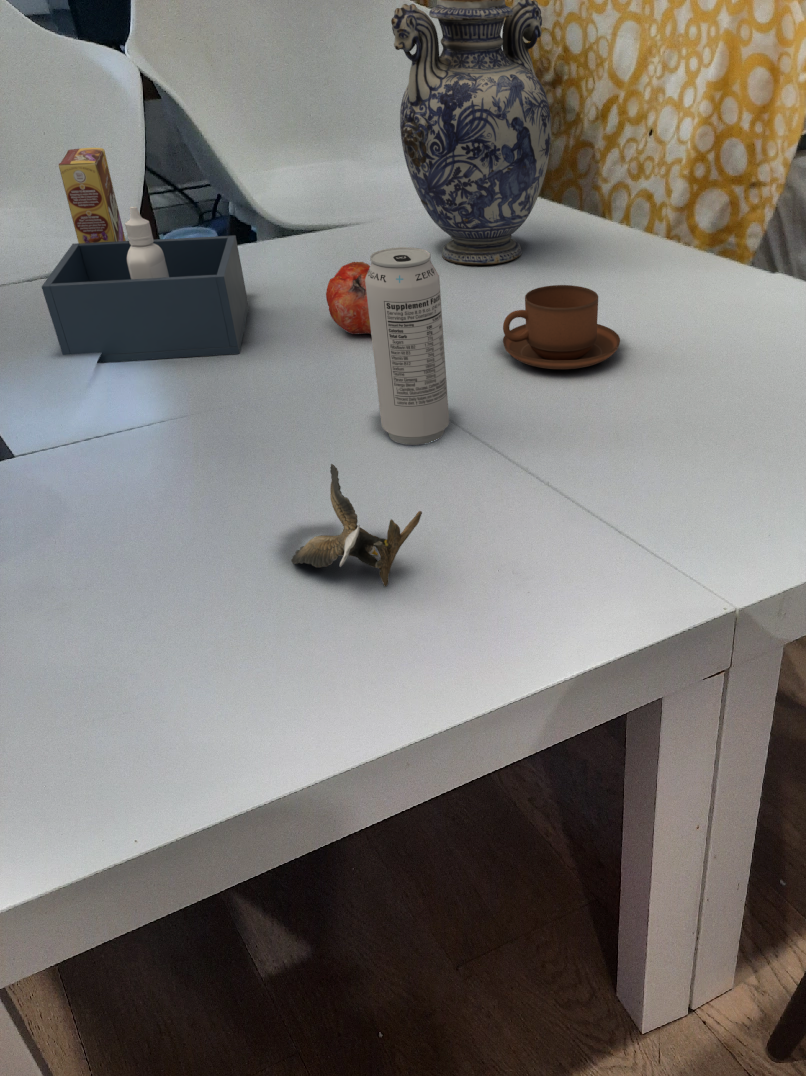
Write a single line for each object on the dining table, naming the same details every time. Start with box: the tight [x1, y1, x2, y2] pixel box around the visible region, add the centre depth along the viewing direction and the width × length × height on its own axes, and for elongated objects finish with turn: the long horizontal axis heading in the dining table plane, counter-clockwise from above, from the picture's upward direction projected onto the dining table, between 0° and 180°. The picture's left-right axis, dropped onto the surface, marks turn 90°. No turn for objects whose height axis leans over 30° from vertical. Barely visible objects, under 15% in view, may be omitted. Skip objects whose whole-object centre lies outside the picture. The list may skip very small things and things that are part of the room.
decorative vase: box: [390, 0, 552, 266], centre depth 124 cm, size 21×19×28 cm
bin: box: [41, 234, 250, 364], centre depth 108 cm, size 18×16×8 cm
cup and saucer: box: [502, 284, 621, 370], centre depth 102 cm, size 12×12×6 cm
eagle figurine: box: [290, 463, 423, 587], centre depth 71 cm, size 8×7×9 cm
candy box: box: [58, 147, 127, 243], centre depth 116 cm, size 9×4×15 cm, turn 13°
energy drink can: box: [365, 246, 450, 446], centre depth 86 cm, size 6×6×15 cm
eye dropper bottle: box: [124, 206, 169, 279], centre depth 106 cm, size 4×6×12 cm
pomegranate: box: [325, 261, 371, 335], centre depth 109 cm, size 7×7×10 cm
